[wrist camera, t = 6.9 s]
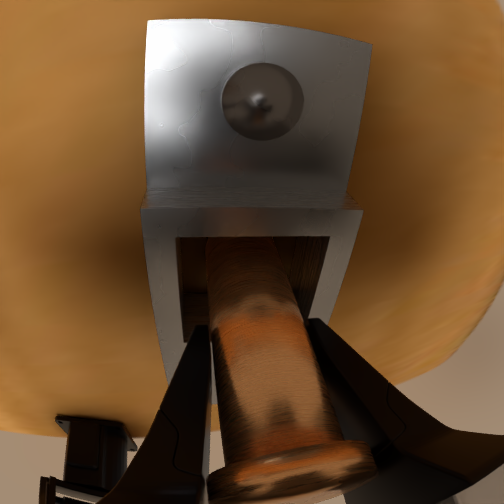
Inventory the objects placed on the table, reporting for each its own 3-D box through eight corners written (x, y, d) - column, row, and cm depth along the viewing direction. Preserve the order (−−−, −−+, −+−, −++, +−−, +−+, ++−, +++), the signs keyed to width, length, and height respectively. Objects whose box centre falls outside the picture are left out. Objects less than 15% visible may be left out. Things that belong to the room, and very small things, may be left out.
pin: (278, 283, 15) (345, 496, 7) (194, 286, 15) (211, 518, 6) (291, 209, 13) (408, 454, 5) (192, 208, 12) (205, 495, 4)
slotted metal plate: (288, 355, 19) (302, 404, 16) (172, 361, 18) (173, 414, 15) (352, 44, 9) (408, 46, 6) (154, 25, 8) (134, 11, 5)
